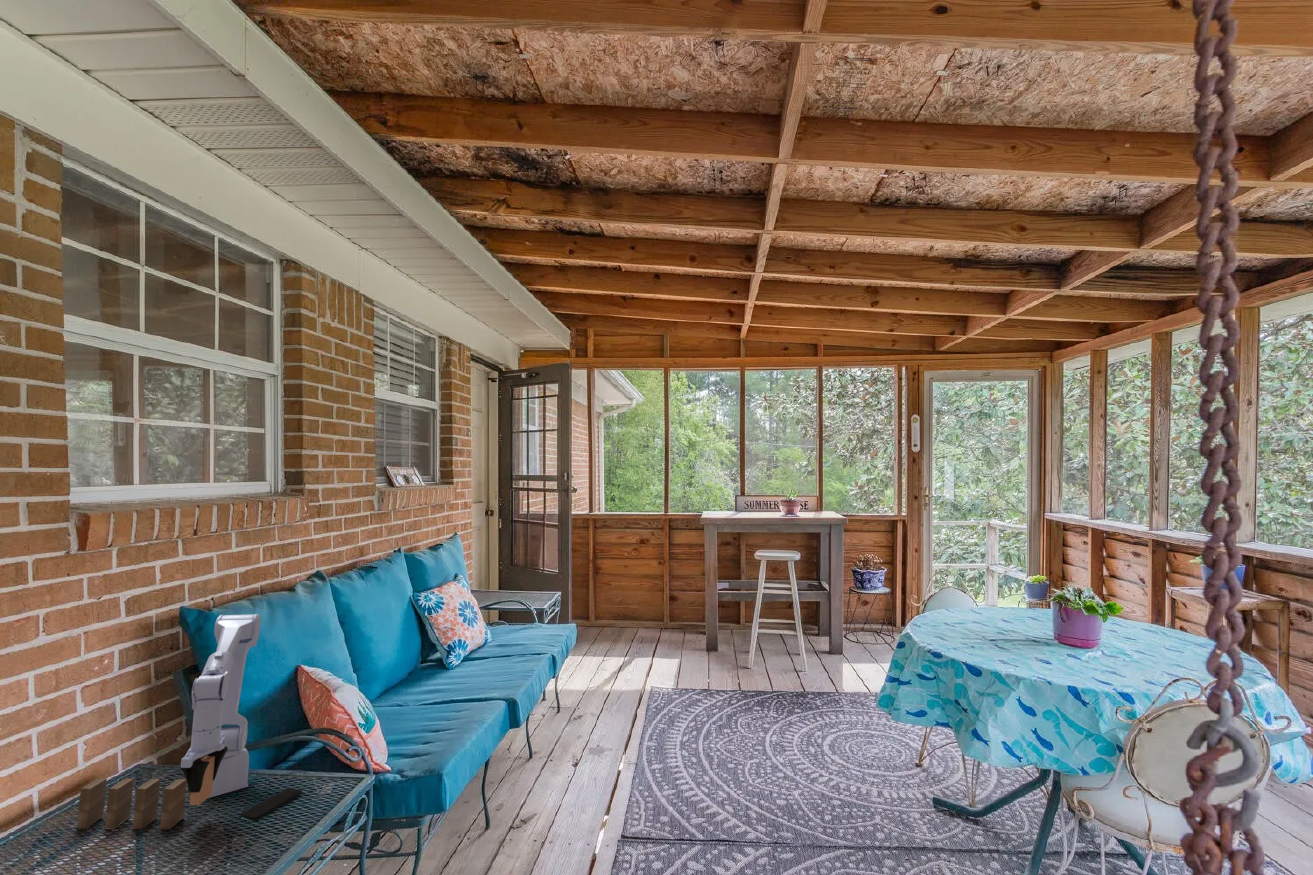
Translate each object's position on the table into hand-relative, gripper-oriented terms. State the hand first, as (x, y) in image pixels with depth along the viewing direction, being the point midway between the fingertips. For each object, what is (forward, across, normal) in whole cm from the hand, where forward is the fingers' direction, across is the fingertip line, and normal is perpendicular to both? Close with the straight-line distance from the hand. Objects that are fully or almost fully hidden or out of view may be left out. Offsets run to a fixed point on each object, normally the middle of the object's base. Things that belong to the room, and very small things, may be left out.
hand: (202, 786), depth 153 cm
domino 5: (+3, 0, 0) cm, 3 cm away
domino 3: (+8, 0, +12) cm, 15 cm away
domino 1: (+8, 0, +24) cm, 25 cm away
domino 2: (+8, 0, +18) cm, 20 cm away
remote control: (+9, +9, -12) cm, 18 cm away
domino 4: (+8, 0, +6) cm, 10 cm away
